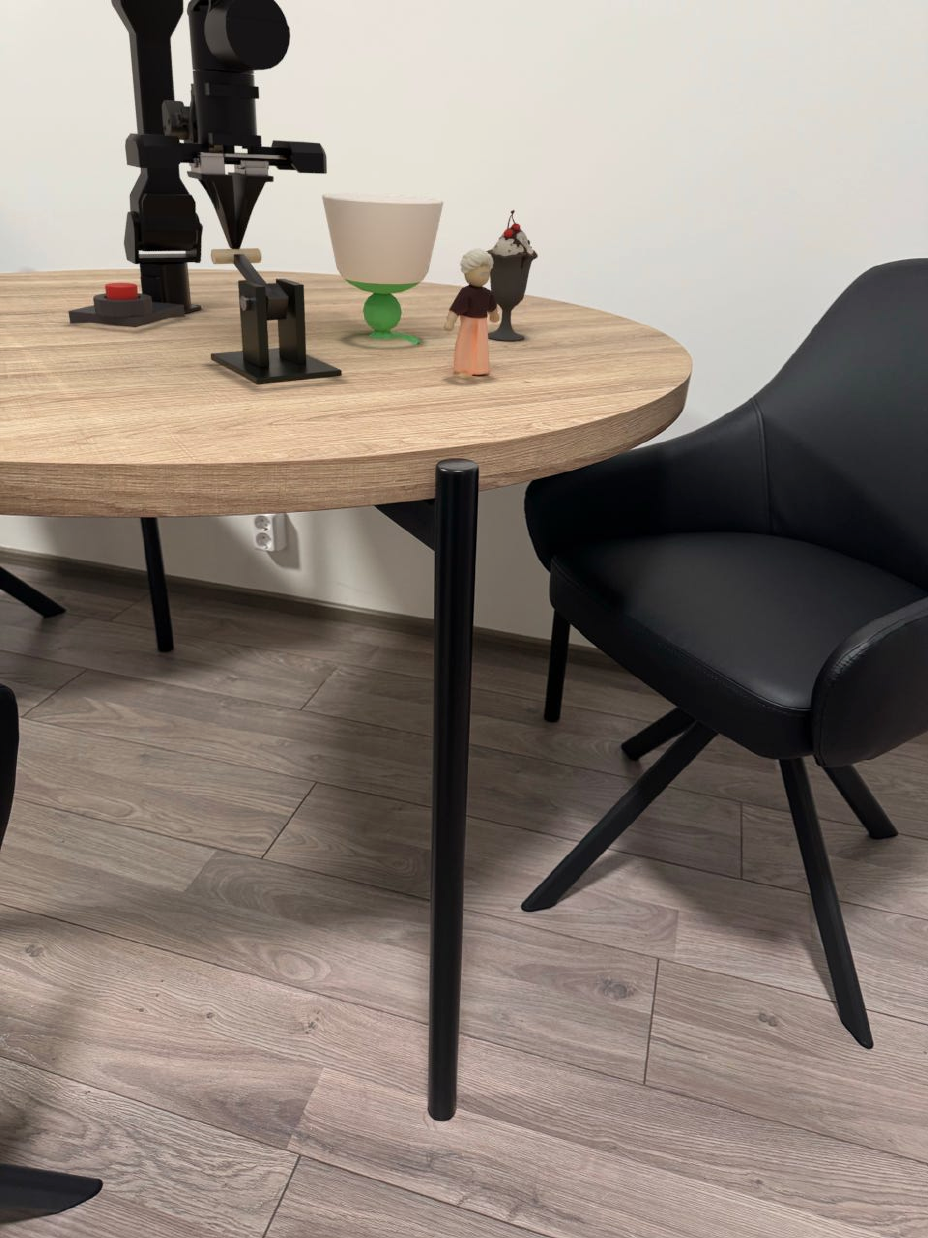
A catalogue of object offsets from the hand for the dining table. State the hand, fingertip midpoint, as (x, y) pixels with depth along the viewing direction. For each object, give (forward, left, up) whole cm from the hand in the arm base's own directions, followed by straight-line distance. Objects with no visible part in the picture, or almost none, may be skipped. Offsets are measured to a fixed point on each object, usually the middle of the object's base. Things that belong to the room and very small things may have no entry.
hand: (234, 248), depth 94 cm
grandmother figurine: (-1, +26, -11) cm, 28 cm away
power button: (-8, -20, -8) cm, 23 cm away
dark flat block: (-11, -21, -11) cm, 27 cm away
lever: (+3, +3, -4) cm, 6 cm away
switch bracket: (+6, +7, -11) cm, 14 cm away
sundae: (-25, +24, -11) cm, 36 cm away
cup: (-15, +11, -11) cm, 22 cm away
